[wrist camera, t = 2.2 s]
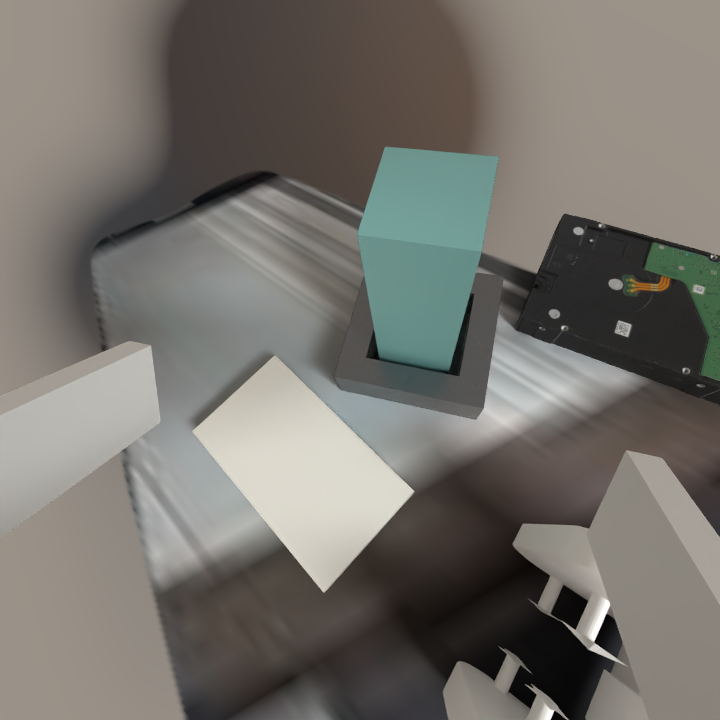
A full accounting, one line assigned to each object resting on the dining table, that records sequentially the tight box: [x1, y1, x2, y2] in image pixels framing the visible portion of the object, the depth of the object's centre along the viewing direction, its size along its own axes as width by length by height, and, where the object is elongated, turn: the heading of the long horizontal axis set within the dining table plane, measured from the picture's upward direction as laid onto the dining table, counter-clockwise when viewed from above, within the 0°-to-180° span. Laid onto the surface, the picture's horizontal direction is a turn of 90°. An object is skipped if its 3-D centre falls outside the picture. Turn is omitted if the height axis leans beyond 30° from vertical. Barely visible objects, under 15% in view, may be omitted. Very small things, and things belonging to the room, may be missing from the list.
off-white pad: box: [192, 355, 414, 593], centre depth 27 cm, size 14×8×2 cm, turn 45°
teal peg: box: [357, 147, 499, 374], centre depth 23 cm, size 5×5×15 cm
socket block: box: [334, 273, 504, 420], centre depth 29 cm, size 10×10×3 cm
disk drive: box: [515, 214, 720, 405], centre depth 28 cm, size 10×3×15 cm
